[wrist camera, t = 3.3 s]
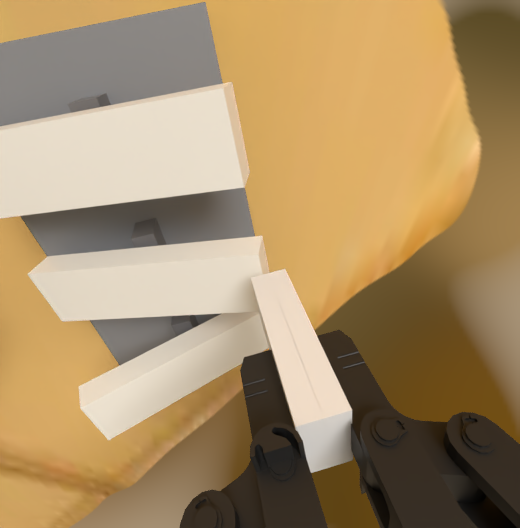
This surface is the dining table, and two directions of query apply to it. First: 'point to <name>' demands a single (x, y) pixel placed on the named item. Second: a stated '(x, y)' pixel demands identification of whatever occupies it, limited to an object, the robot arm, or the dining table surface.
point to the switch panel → (109, 93)
